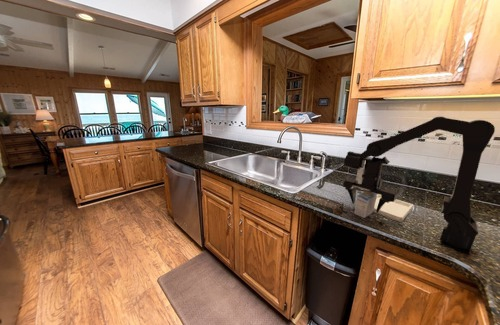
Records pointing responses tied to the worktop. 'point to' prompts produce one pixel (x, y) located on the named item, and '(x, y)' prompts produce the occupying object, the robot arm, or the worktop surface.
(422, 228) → the worktop surface
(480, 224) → the worktop surface
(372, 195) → the medicine box
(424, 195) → the worktop surface
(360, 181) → the supplement tub
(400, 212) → the dish
